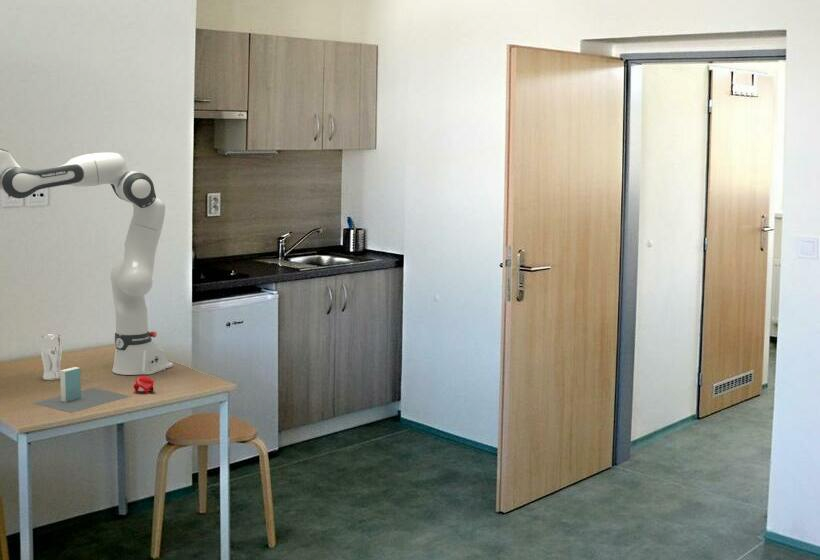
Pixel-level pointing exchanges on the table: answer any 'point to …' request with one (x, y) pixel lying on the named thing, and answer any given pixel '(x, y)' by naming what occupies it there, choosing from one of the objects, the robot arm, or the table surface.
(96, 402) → the mat
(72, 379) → the tile
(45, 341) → the beer glass
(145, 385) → the red rounded piece
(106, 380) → the table surface
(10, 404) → the table surface
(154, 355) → the robot arm
